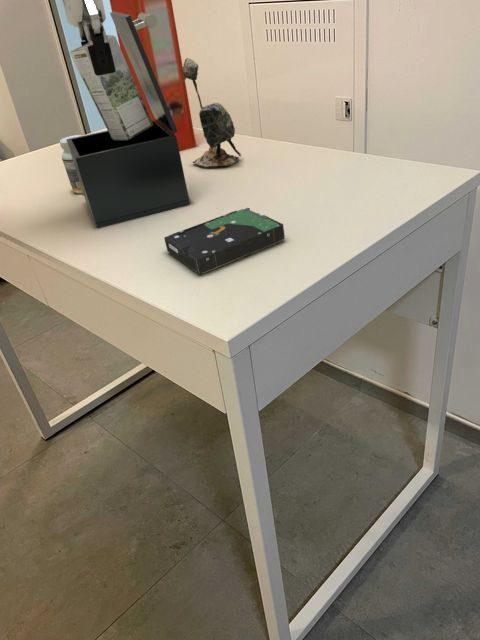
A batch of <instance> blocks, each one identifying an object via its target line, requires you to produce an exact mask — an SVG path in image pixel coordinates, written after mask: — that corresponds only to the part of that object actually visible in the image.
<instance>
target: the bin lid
mask: <svg viewBox="0 0 480 640" xmlns="http://www.w3.org/2000/svg"><path fill="white" fill-rule="evenodd" d="M109 14H110V17H111V20H112V22H113V24H114V27H115V26H116V27H115V30H116V29H117V31H118V33H119V36H120V38H121V40H122V43H123V45H124V47H125V50H126V52H127V54H128V57H129V59H130V61H131V64H132V66H133V68H134V71H135V73H136V75H137V78H138V80H139V82H140V85H141V87H142V89H143V92H144V94H145V96H146V99H147V101H148V103H149V106H150V108H151V110H152V113H153V115H154V117H155V118H156V119H157V120H158V121H159V122H160V123H162V124H163V125H164V126H165V127H166V128H168V129H169V130H170V131H171V132H172V133H173V134H174V133H176V132H178V131H177V128H176V126H175V123H174V121H173V119H172V116H171V114H170V111H169V109H168V106H167V104H166V101H165V99H164V97H163V94H162V92H161V89H160V87H159V84H158V82H157V79H156V77H155V75H154V72H153V70H152V67H151V65H150V62H149V60H148V57H147V55H146V53H145V50H144V48H143V45H142V43H141V40H140V38H139V35H138V33H137V30H139V29H141V28H143V27H150V28H154V27H155V26H156V25H157V18H156V17H155V16H154V15H152V14H148V13H140V14H139V15H138V19H136V20H134V21H132V18H131V16H130V15H127V14H123V13H119V12H114V11H113V12H112V11H111V12H109Z"/></svg>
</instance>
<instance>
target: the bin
mask: <svg viewBox="0 0 480 640" xmlns="http://www.w3.org/2000/svg"><path fill="white" fill-rule="evenodd" d="M152 123H153V126H152V127H150V128H148V129H147V130H145V131H143V132H142V133H140V134H138V135H136V136H135V137H133V138H131V139H129V140H113V139H112V138H111V136H110V134H109V132H108V130H104V131H100V132H99V131H98V132H94V133H89V134H85V135H83V136H80V137H75V138H71V139H66V140H67V143H68V146H69V149H70V153H71V156H72V159H73V162H74V165H75V168H76V172H77V175H78V178H79V181H80V184H81V187H82V191H83V193H82V194H83V197H84V200H85V203H86V205H87V208H88V210H89V212H90V215H91V218H92V219H93V222H94V225H95V226H96V228H97V229H99V228H103V227H107V226H111V225H114V224H115V225H116V224H119V223H122V222H127V221H130V220H131V221H132V220H134V219H138V218H142V217H147V216H149V215H155V214H157V213H161V212H165V211H170V210H172V209H177V208H180V207H184V206H189V205H191V202H190V197H189V193H188V188H187V182H186V177H185V173H184V168H183V163H182V157H181V153H180V151H179V147H178V142H177V137H176V135H175V134H173V133H172V132H171V131H170V130H169V129H167V128H166V127H165V126H164V125H163V124H161V123H160V122H159V121H158V120H154V121H152Z"/></svg>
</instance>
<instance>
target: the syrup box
mask: <svg viewBox="0 0 480 640" xmlns="http://www.w3.org/2000/svg"><path fill="white" fill-rule="evenodd" d="M106 36H107V39H108V43H109V44H110V49H111V53H112V57H113V61H114V65H115V69H116V71H115V72H114V73H110V74H105V75H99V76H97V75H95V73H94V70H93V66H92V62H91V58H90V54H89V51H88V47H87V46H89V43H87V44H85V45H83V46H82V45H81V46H79V47H77V48H75V49H73V50H71V51H70V52H69V55H70V56H71V58H72V60H73V63H74V65H75V66H76V67H75V68H76V69H77V71H78V73H79V76H81V79H82V81H83V83H84V85H85V87H86V89H87V91H88V93H89V95H90V97H91V99H92V101H93V104H94V105H95V107H96V109H97V112H98V114H99V116H100V117H101V119H102V122H103V124H104V126H105V127H106V131H108V132H109V134H110V136H111V138H112V139H113V140H129V139H131V138H133V137H135V136H136V135H138V134H140V133H142V132H143V131H145V130H147V129H148V128H150V127H152V126H153V123H152V120H151V118H150V116H149V114H148V111H147V109H146V107H145V104H144V102H143V100H142V97H141V95H140V93H139V90H138V88H137V86H136V84H135V81H134V79H133V76H132V74H131V72H130V70H129V67H128V65H127V63H126V60H125V58H124V56H123V53H122V51H121V49H120V45H119V41H118V38H116V35H114V34H106Z"/></svg>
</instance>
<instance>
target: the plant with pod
mask: <svg viewBox="0 0 480 640" xmlns="http://www.w3.org/2000/svg"><path fill="white" fill-rule="evenodd" d="M198 71H199V64H198V63H196V62H195V60H193V59H191V58H190V57H187V58H185V59H184V62H183V68H182V73H183V74H184V79H183V81H185V82H186V79H187V80H191V81H192V83H193V86H194V89H195V92H196V94H197V98H198V101H199V106H200V110H199V113H198V115H199V122H200V124H201V128H202V132H203V137H204V138H205V140H206V144H208V146H209V147H208V150H206V151H205V152H204V153H203V154H202V155H201V156H200V157H198V158H197V159H195V160H194V161H192V164H194V165H197V166H201V167H204V168H208V167H220V166H221V167H230V166H233V165H234V164H235V163H237V162H238V161H239V159H240V157H242V152H240V151H239V150H238V149H237V147H236V146H235V144H234V143H233V141H232V138H234V137H235V133H236V128H235V125H234V121H233V120H232V116H231V114H230V113H229V112H228V110H227V109H226V108H225V107H224V105H223V104H222V103H219V102H213V103H210V104H207V105H205V106H203V105H202V104H203V103H202V100H201V96H200V93H199V91H198V84H197V80H198V74H199V73H198ZM225 142H227V143H228V144H229V145H230V147H231V148H232V150H233V151H234V152H235V153H236V154H237V155H238V156H236V155H233V154H230V153H227V151H226V150H225V149H224V148H222V147H221V144H222V143H225Z"/></svg>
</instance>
